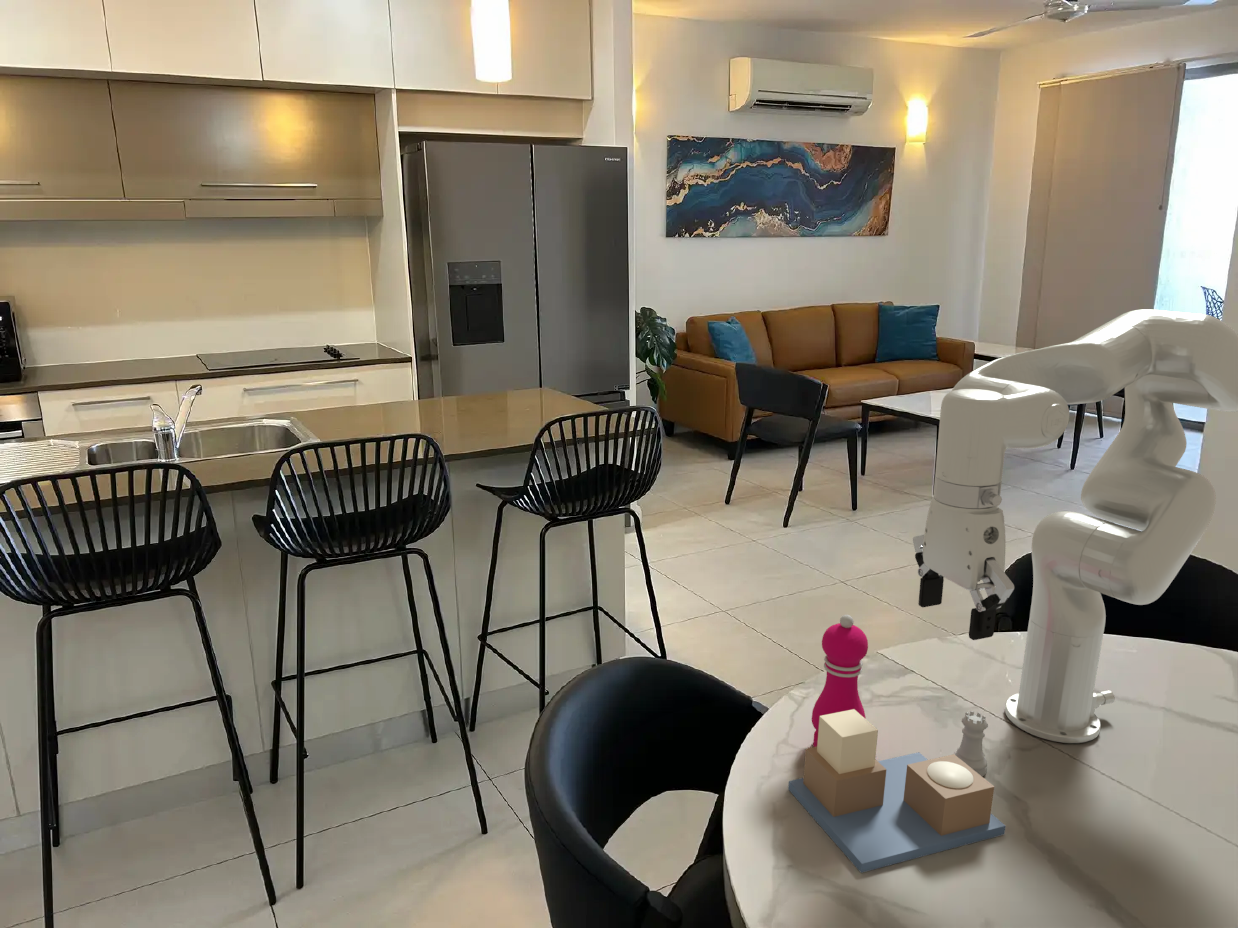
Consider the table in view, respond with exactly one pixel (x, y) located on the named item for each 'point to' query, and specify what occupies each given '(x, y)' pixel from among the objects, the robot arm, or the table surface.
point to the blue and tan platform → (890, 797)
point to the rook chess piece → (973, 742)
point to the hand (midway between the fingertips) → (954, 620)
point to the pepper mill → (841, 670)
